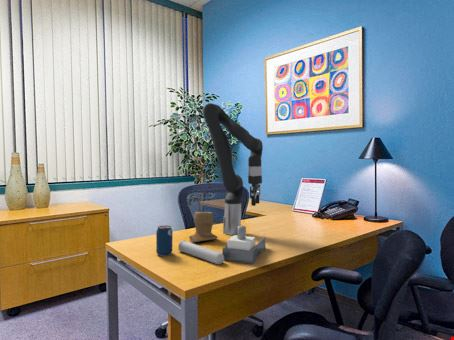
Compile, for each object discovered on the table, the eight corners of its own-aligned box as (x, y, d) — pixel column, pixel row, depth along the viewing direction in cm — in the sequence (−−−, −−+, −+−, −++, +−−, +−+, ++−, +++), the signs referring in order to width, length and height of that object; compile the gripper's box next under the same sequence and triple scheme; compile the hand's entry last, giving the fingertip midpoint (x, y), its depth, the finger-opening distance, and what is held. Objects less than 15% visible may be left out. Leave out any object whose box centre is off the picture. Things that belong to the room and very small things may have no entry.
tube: (228, 253, 125) (188, 241, 142) (219, 252, 121) (180, 239, 138) (224, 266, 124) (185, 252, 141) (216, 265, 120) (176, 251, 137)
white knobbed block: (227, 256, 129) (227, 227, 128) (233, 250, 137) (234, 223, 137) (249, 259, 126) (249, 229, 125) (254, 253, 134) (255, 225, 134)
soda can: (175, 253, 135) (175, 226, 135) (162, 257, 130) (162, 229, 130) (165, 250, 140) (166, 224, 139) (153, 253, 135) (153, 226, 134)
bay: (222, 260, 128) (222, 248, 128) (239, 244, 151) (239, 234, 151) (252, 264, 124) (252, 251, 124) (265, 247, 146) (265, 237, 146)
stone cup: (208, 235, 168) (208, 208, 167) (220, 240, 158) (220, 211, 158) (183, 239, 159) (183, 210, 158) (194, 245, 149) (195, 214, 149)
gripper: (251, 174, 175) (252, 202, 175) (244, 175, 161) (245, 206, 162) (264, 174, 172) (265, 202, 173) (258, 175, 159) (259, 206, 160)
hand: (255, 204), depth 167 cm, fingers open, 8 cm apart
